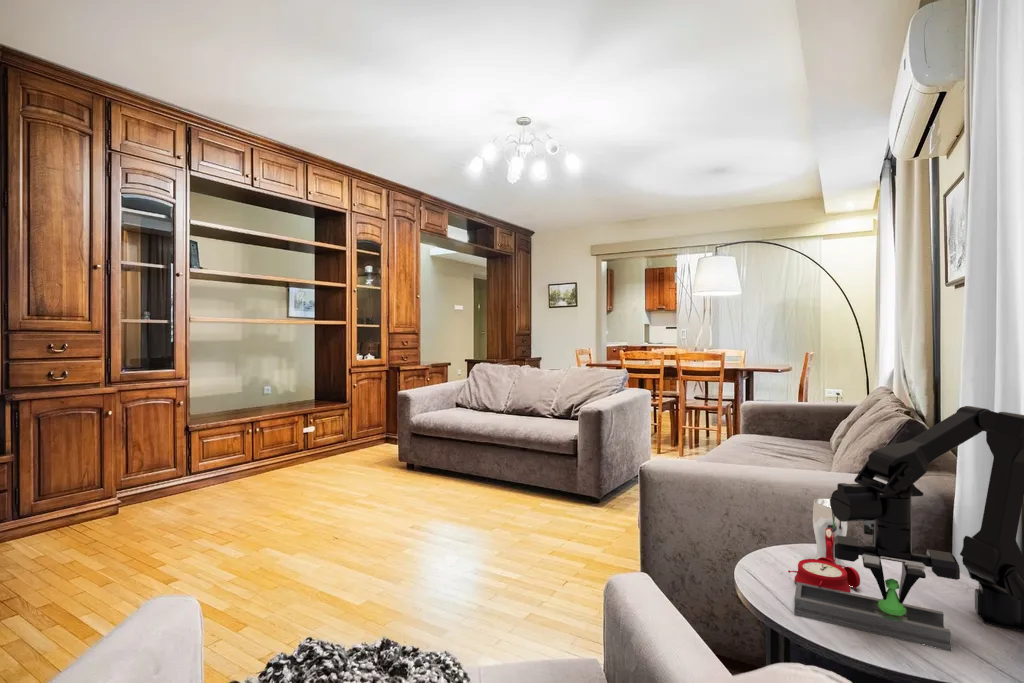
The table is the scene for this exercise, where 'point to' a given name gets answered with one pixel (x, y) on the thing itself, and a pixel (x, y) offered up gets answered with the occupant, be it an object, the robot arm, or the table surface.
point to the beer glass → (827, 529)
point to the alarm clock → (826, 574)
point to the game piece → (892, 600)
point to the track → (871, 615)
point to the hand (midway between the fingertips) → (892, 600)
